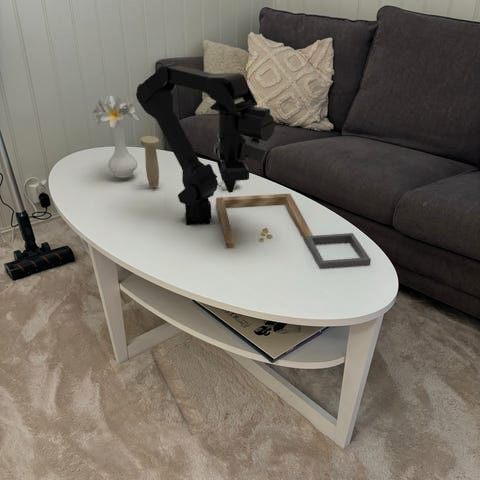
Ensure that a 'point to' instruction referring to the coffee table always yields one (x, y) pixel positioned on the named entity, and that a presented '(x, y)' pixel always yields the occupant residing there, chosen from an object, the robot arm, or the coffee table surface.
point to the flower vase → (117, 133)
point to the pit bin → (334, 239)
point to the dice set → (265, 235)
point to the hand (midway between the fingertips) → (230, 191)
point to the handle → (151, 159)
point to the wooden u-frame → (259, 201)
